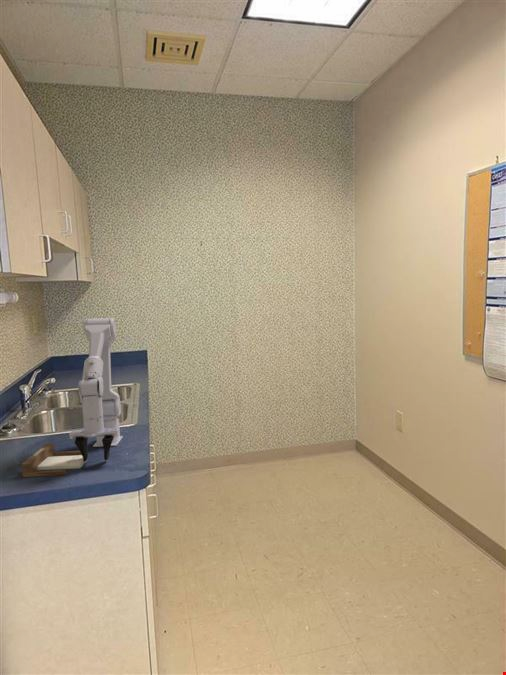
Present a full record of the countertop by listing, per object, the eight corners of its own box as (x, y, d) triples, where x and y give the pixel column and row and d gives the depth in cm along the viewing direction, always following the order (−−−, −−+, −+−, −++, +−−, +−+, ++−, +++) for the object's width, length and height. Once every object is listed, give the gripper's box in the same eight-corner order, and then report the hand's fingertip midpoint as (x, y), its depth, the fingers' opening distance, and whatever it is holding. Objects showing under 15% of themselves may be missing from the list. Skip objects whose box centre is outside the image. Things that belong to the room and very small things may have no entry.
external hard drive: (48, 461, 138) (88, 459, 138) (37, 471, 130) (79, 469, 130) (48, 456, 138) (88, 454, 138) (37, 466, 129) (79, 463, 130)
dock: (47, 455, 143) (46, 442, 142) (84, 453, 143) (83, 440, 143) (22, 477, 125) (21, 462, 125) (64, 474, 126) (63, 460, 126)
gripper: (64, 421, 129) (67, 465, 130) (113, 419, 130) (116, 463, 131) (72, 415, 136) (76, 457, 137) (119, 413, 137) (122, 454, 138)
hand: (96, 459), depth 135 cm, fingers open, 6 cm apart
